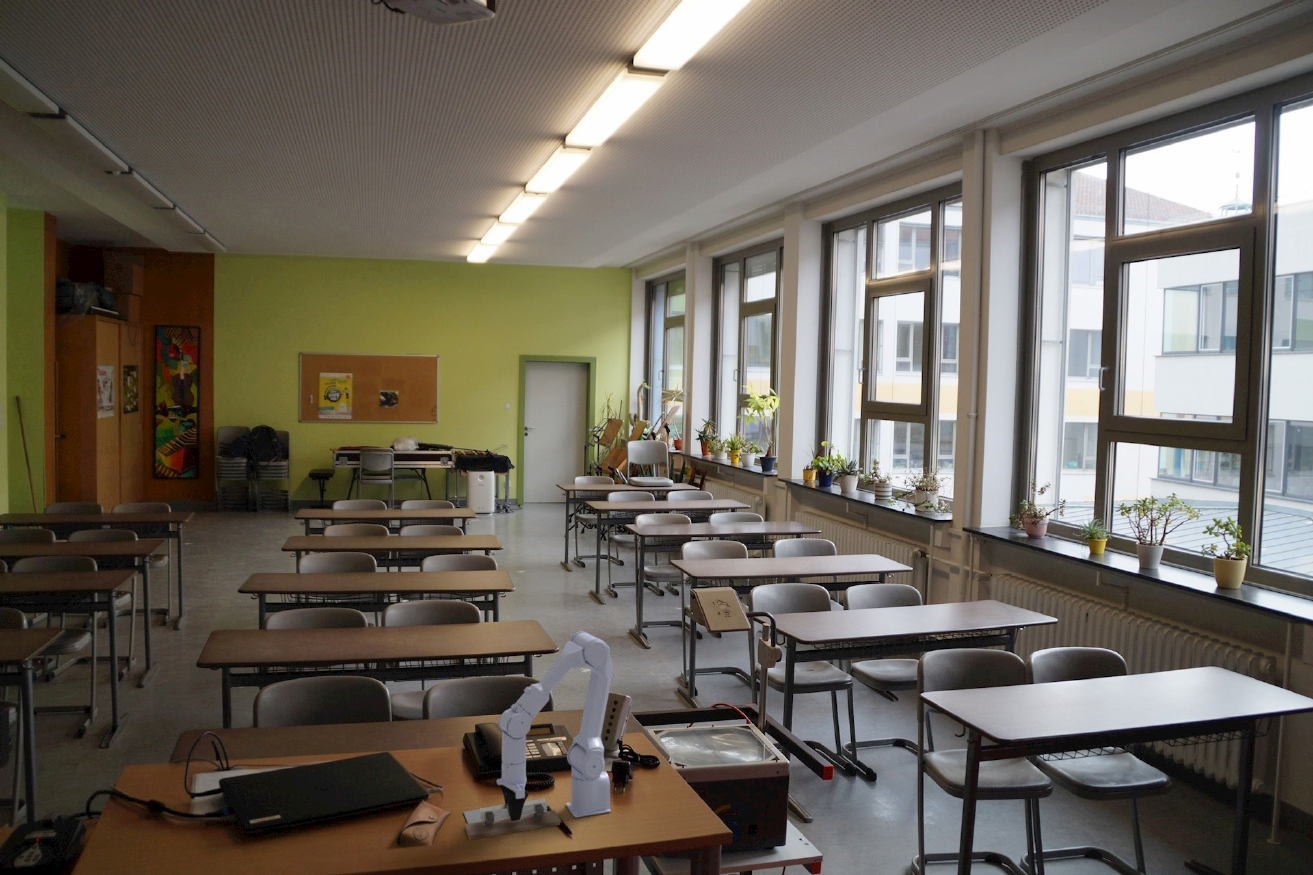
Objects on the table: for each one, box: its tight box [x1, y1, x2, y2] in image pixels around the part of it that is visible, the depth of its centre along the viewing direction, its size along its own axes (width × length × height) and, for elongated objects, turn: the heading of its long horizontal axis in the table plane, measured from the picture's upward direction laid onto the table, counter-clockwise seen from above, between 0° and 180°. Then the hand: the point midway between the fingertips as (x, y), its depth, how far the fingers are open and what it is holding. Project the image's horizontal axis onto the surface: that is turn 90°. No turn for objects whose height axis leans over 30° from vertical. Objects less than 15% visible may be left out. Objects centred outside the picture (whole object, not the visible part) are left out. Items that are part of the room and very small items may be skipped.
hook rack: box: [464, 798, 562, 840], centre depth 216 cm, size 22×6×5 cm, turn 112°
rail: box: [479, 798, 548, 821], centre depth 216 cm, size 16×2×2 cm, turn 112°
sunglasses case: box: [396, 799, 452, 847], centre depth 215 cm, size 18×7×7 cm
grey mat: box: [463, 808, 547, 824], centre depth 223 cm, size 20×7×1 cm, turn 112°
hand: (513, 816), depth 216 cm, fingers open, 4 cm apart
